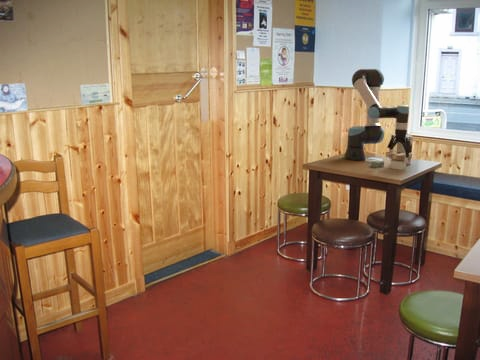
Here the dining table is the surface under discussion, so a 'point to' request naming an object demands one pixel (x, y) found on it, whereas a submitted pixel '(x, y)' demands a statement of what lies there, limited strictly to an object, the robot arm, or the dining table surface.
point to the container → (401, 148)
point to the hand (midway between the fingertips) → (398, 160)
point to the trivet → (377, 164)
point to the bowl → (397, 164)
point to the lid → (397, 155)
